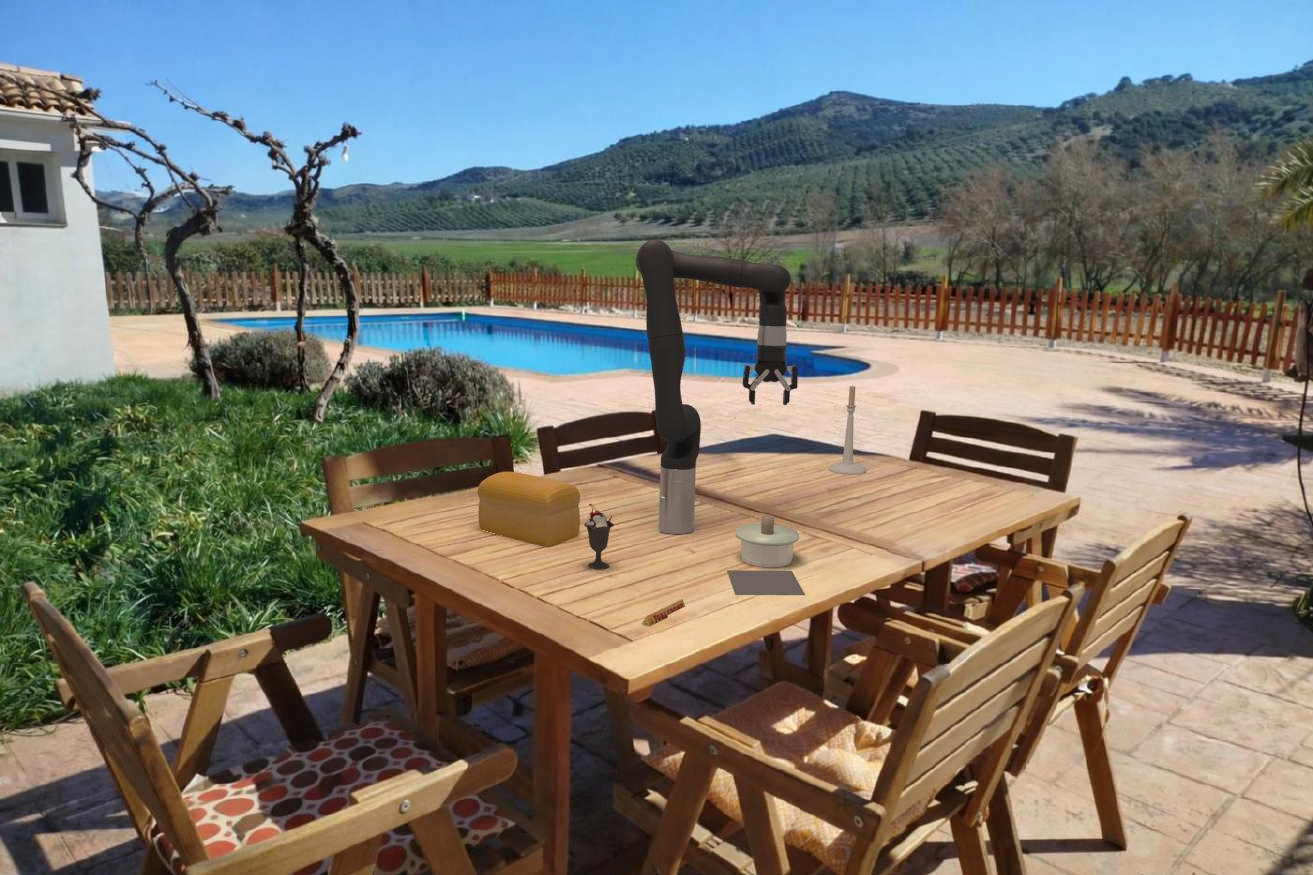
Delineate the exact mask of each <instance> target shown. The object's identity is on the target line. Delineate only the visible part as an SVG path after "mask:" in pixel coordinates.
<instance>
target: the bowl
mask: <svg viewBox="0 0 1313 875" xmlns="http://www.w3.org/2000/svg"><path fill="white" fill-rule="evenodd" d="M740 555H741V556H740V559H741V560H742V561H743V562H744V563H746V564H749V565H751V566H756V567H762V568H780V567H784V566H788V565H791V563H792V561H793V558H794V543H792V544H789V545H782V546H764V545H756V544H751V543H747V542H744V541H742V540H740Z"/></svg>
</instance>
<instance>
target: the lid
mask: <svg viewBox="0 0 1313 875" xmlns="http://www.w3.org/2000/svg"><path fill="white" fill-rule="evenodd" d="M735 537H736V538H737V539H738V540H740V541H741V540H742V541H744V542H747V543H751V544H756V545H764V546H782V545H789V544H792V543H793V544H795V543H797V542H798V541H799V539H800V533H799V531H797V530H796V529H793V528H792V527H789V526H786V525H781V524H780V525H779V524H775V515H773V514H772V515H771V514H762V515H761V520H760V523H750V524H744V525H740V526H738V527H737V528H736V529H735Z"/></svg>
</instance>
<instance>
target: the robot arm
mask: <svg viewBox="0 0 1313 875" xmlns="http://www.w3.org/2000/svg"><path fill="white" fill-rule="evenodd" d="M635 265H636V267H637V268H636V269H637V270H638V271H639V273H640V274H641V277H642V278H641V279H642V283H643V287H644V291H645V292H644V293H645V298H646V299H645V300H646V310H645V311H646V312H645V315H646V316H645V317H646V318H645V323H646V325H645V326H646V338H647V345H648V352H649V358H650V365H651V373H652V382H653V388H654V405H655V407H654V408H655V409H654V410H655V425H656V429H657V432H658V435H659V437H661V439H662V440H663V441H664V442H666V443H667V445H666V449H665V450H664V451H663V453H662V454H661V456H660V473H659V474H660V475H659V477H660V479H659V493H658V494H659V495H658V497H659V498H658V499H659V500H658V530H659V533H664V534H665V533H666V534H671V535H672V534H673V535H685V534H689V533H692V532H693V531H695V506H696V505H695V503H696V497H695V496H696V476H697V475H696V471H697V470H696V469H697V459H698V457H699V453H700V447H701V446H700V445H701V431H702V430H701V429H702V424H701V423H702V422H701V418H700V414H699V412H698V410H697V409H696V407H694V406H692V405H690V404H688V403H687V404H686V403H685V404H684V403H683V399H682V390H681V382H682V375H683V370H684V365H685V360H686V346H685V339H684V337H685V336H684V331H683V325H682V320H681V316H680V311H679V306H678V303H677V299H676V291H675V279H685V280H694V281H700V282H705V283H711V284H716V285H722V286H728V287H734V288H741V289H753V290H757V291H758V294H759V304H760V306H759V307H760V308H759V318H758V319H759V321H758V322H759V323H758V331H757V339H756V343H757V344H756V363H755V365H750V364H748V363H747V364H745V365H744V366H743V375H742V386H743V388H744V389H748V401H749V403H750V404H751V405H756V390H755V389H756V388H758V386H759V385H761V383H762V382H764V383H768V382H769V383H770V382H772V383H777V382H779V383H780V384H781V385H782V387H783V388H784V389H783V391H782V392H783V393H782V396H783V397H782V405H783V406H788V404H789V403H790V397H791V396H790V395H791V391H792V390H796V389H798V384H799V383H798V381H799V380H798V367H797V365H794V364H793V365H789V366H787V364H786V360H787V358H786V355H787V337H788V334H787V332H788V331H787V320H788V319H787V317H788V314H787V313H788V311H787V305H786V302H785V300H786V299H785V298H786V297H785V296H786V293H785V291H786V290H787V289H788V288H789V286H790V284H791V282H792V279H791V278H792V276H791V273H790V272H789V270H788V269H787V268H786V267H784V266H782V265H778V264H771V263H760V262H753V261H749V260H745V259H739V258H733V257H726V256H714V255H713V256H710V255H695V254H688V253H684V252H679V251H676V250H672V249H671V247H670V246H669V245H668V244H667V243H666V242H664V241H662V239H661V240H660V239H650V240H648V241H646V242H645V243H643V244H642V245H641V246H640V247H639V250H638V252H637V253H636V257H635ZM753 371H755V373H756V374H757V375H756V376H755V378H754V379H753V381H752V382H751V383H749V381H750V374H752V373H753ZM787 371H788V373H789V375H790V377H791V378H790V382H791V383H790V384H788V381H786V379H785V378H784V375H785V374H786V372H787Z"/></svg>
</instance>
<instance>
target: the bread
mask: <svg viewBox="0 0 1313 875" xmlns="http://www.w3.org/2000/svg"><path fill="white" fill-rule="evenodd" d="M477 488H478V489H477V496H478V499H479V503H478V524H479V528H480V530H481V529H482V530H485V531H488V532H487V533H489V532H492V533H491V534H493V533H495V534H494V535H497V534H498V536H501V535H502V536H501V537H504V538H505V537H506V538H508V537H509V539H512V540H517V541H521V542H525V543H529V544H533V545H537V546H540V547H544V548H545V547H547V548H551V547H554V546H556V545H557V546H558V545H560V544H562V543H565V542H567V541H569V540H572V539H573V540H574V539H576V538H578V537H579V534H580V529H581V526H580V525H581V519H580V518H581V516H580V515H581V514H580V506H579V505H580V501H581V493H580V491H579V488H577V486H575V485H573V484H571V483H569V482H566V481H561V480H557V479H553V478H547V477H542V476H537V475H532V474H527V473H521V472H517V471H516V472H515V471H501V472H497V473H494V474H492V475H490V476H487V477H486V478H485V479H484V480H482V481H481V482H480V483H479V485H478V487H477ZM482 530H481V531H482ZM485 531H484V532H485Z"/></svg>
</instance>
